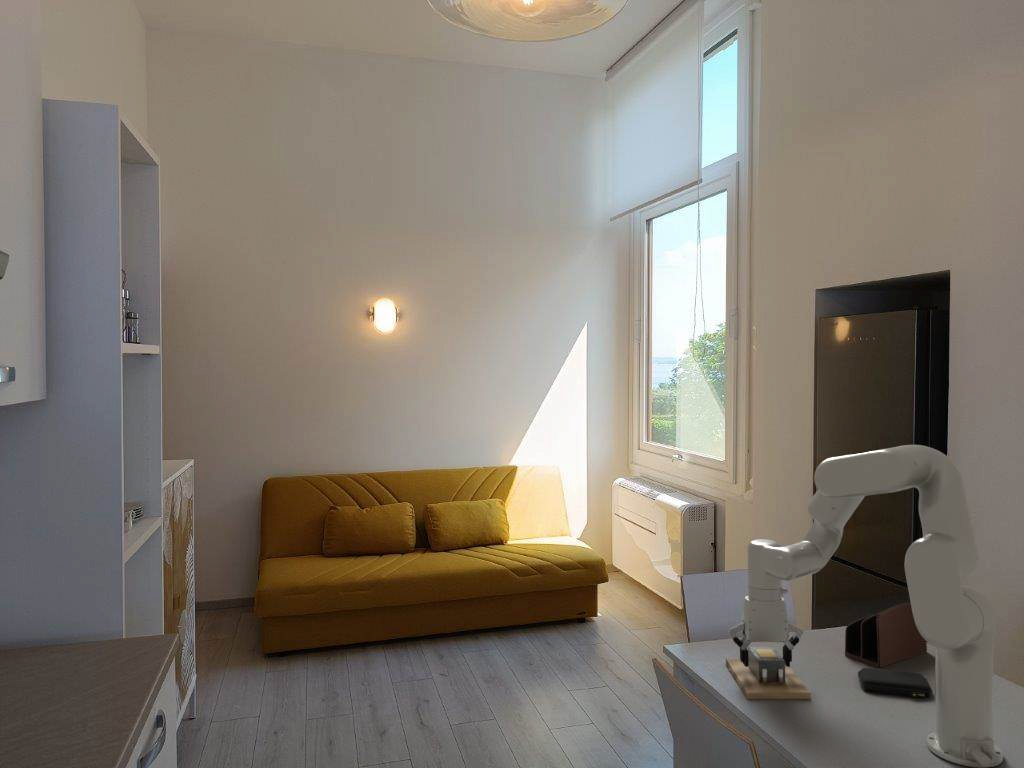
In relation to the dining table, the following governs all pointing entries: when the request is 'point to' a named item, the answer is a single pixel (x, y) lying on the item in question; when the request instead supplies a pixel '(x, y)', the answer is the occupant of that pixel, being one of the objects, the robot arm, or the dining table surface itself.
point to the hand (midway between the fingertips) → (765, 664)
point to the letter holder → (885, 637)
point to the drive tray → (767, 690)
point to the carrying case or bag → (894, 682)
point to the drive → (765, 663)
